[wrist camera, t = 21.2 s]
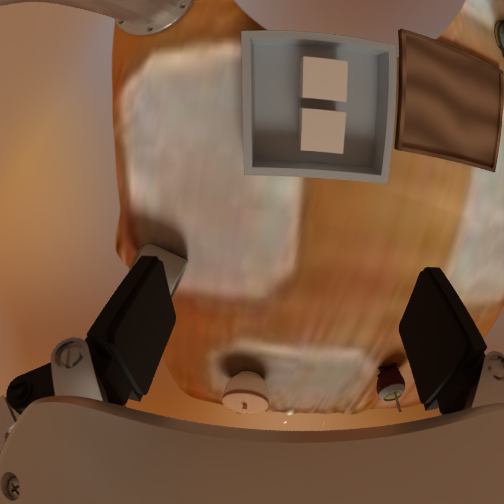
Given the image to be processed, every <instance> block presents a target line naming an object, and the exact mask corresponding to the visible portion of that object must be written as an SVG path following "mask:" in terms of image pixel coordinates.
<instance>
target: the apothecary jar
mask: <svg viewBox="0 0 504 504" xmlns="http://www.w3.org/2000/svg"><path fill="white" fill-rule="evenodd" d="M495 37H496V41H497V45H498V47H499V48H500V49H501V51H502V53H503V57H504V20H500V21H498V22H497V24H496V26H495Z"/></svg>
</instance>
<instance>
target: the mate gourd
mask: <svg viewBox="0 0 504 504" xmlns="http://www.w3.org/2000/svg"><path fill="white" fill-rule="evenodd" d="M379 370H380V374H379V375H378V381H377V393H378V395H379V397H380V398H381V399H382V400H383V401H393V400H396V404H397V405H396V406H397V408H398V410H399V412H401V409H400V404H399V401H398V398H399V397H401V396H402V395H403V393H404V390H405V381H404V379H403V377H402V375H401V374H400V371H399V370H398V368H397V363H394V364H393V365H391V366H390V367H389V368H384V367H381V366H380V367H379Z"/></svg>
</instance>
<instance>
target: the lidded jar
mask: <svg viewBox="0 0 504 504" xmlns="http://www.w3.org/2000/svg"><path fill="white" fill-rule="evenodd" d="M222 402H223V404H224V405H225V406H226V407H227V408H229V409H231V410H233V411H237V412H241V413H259V412H262V411H264V410H266V409H267V408H268V406H269V391H268V387H267V384H266V382H265V381H264V380H263V379H262V378H261V376H260V375H259V374H257V373H255V372H251V371H243V372H240V373H238V374H237V375H235V376H233V377H232V378H231V379H230V380H229V382H228V383H227V385H226V388H225V391H224V395H223V398H222Z"/></svg>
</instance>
